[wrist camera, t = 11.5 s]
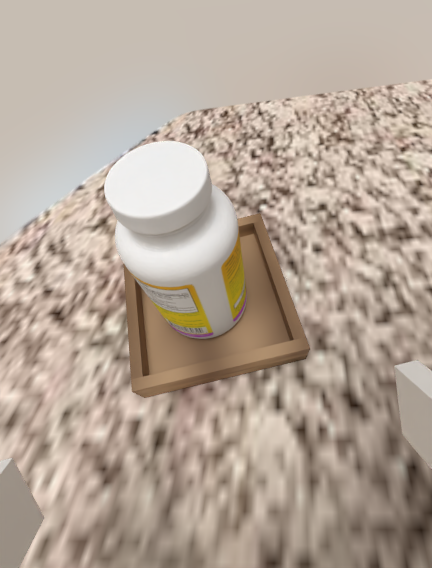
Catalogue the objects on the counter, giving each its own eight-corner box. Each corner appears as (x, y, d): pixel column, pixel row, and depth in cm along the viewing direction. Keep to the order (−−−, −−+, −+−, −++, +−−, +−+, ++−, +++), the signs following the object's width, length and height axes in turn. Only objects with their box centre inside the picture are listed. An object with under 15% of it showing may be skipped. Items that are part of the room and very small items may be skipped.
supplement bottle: (223, 253, 27) (194, 107, 16) (263, 316, 23) (262, 190, 12) (152, 288, 26) (67, 161, 15) (182, 357, 23) (104, 263, 12)
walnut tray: (260, 231, 29) (260, 213, 26) (305, 358, 23) (310, 348, 20) (133, 263, 29) (122, 247, 27) (144, 397, 23) (131, 391, 21)
